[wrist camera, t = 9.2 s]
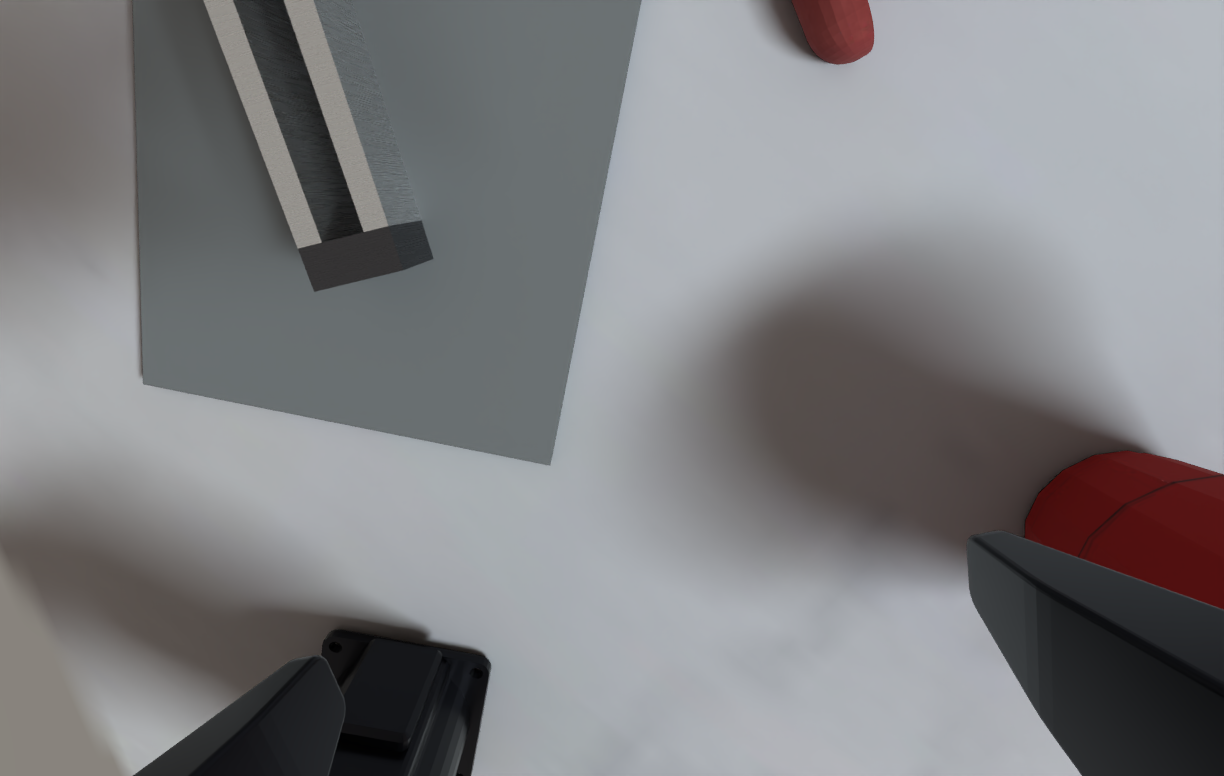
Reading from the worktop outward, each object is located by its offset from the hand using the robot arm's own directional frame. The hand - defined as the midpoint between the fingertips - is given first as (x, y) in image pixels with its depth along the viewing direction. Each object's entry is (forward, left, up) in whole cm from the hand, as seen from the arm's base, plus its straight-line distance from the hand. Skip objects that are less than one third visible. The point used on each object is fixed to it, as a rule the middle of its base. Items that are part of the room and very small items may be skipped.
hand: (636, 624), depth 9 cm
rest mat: (+5, +9, -13) cm, 17 cm away
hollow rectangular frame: (+2, +8, -11) cm, 14 cm away
